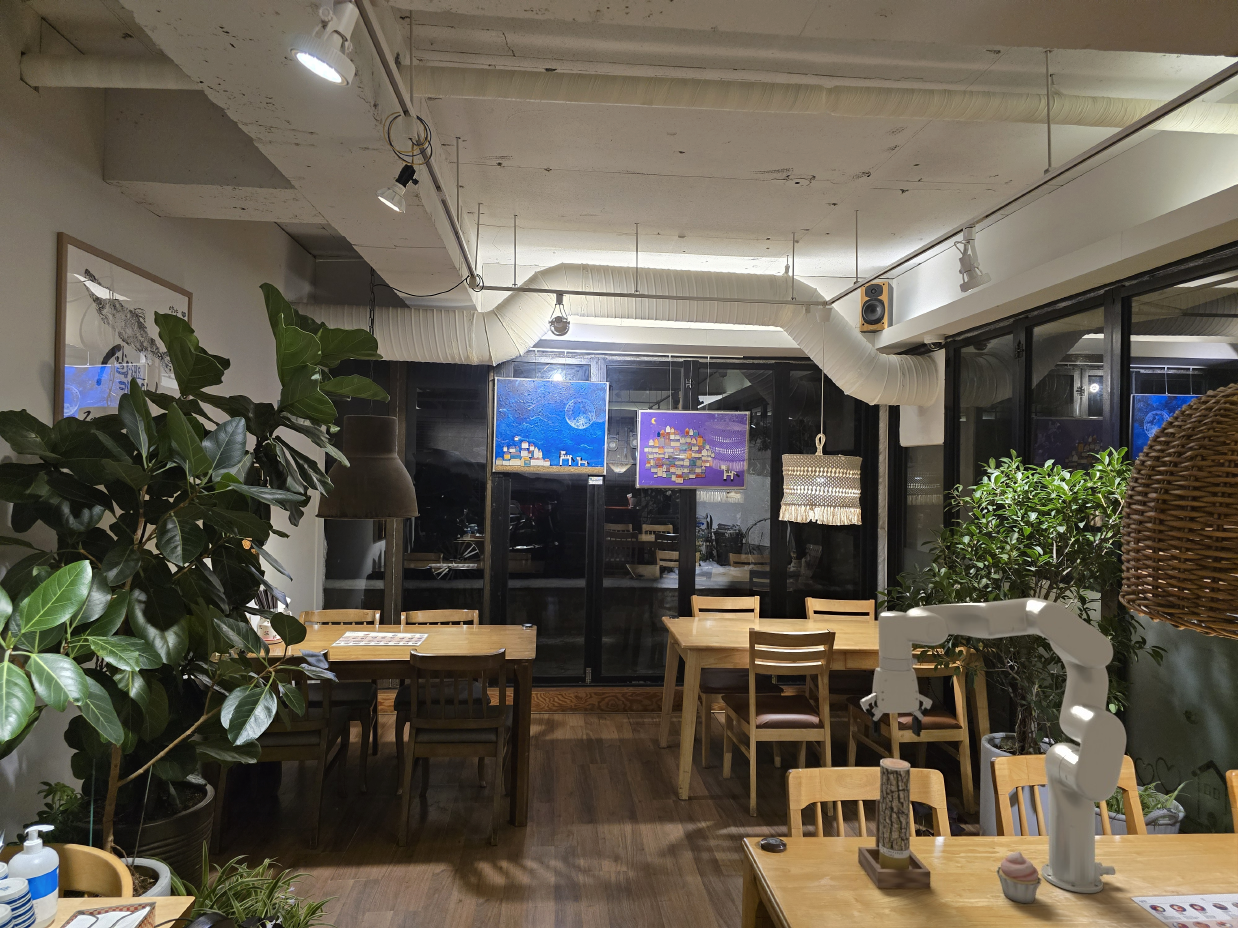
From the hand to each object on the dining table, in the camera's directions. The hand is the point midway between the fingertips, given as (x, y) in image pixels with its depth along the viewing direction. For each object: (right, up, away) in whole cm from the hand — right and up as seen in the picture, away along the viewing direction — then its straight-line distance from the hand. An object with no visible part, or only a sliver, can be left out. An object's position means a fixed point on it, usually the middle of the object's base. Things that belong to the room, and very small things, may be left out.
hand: (896, 735), depth 183 cm
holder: (-1, -33, -1) cm, 33 cm away
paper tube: (-1, -32, -1) cm, 32 cm away
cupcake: (+24, -33, -10) cm, 42 cm away
